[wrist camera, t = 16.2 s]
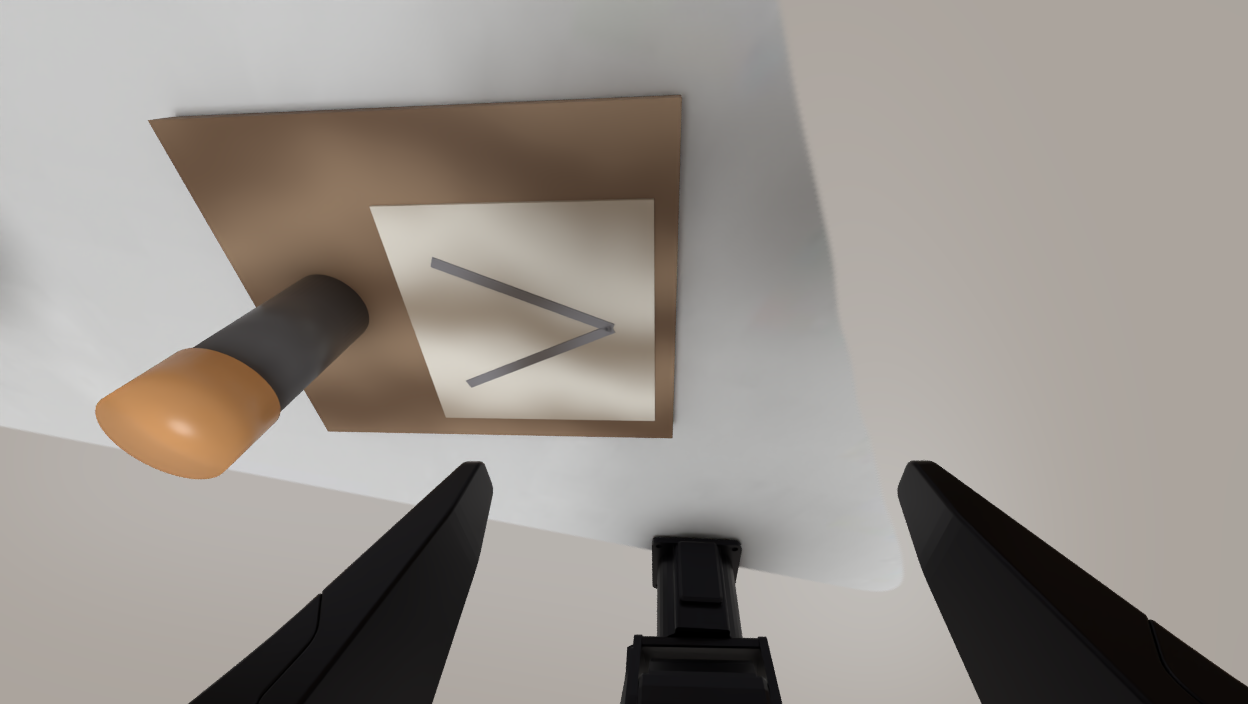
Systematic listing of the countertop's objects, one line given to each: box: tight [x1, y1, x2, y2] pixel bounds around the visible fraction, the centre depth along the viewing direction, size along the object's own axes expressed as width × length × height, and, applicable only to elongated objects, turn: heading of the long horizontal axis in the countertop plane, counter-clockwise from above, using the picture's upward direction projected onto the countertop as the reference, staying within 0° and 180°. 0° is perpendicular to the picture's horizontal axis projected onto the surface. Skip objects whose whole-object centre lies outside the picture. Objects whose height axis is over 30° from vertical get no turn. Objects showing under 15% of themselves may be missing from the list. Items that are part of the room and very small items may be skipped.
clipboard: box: [148, 95, 682, 438], centre depth 22 cm, size 17×21×2 cm
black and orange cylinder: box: [95, 274, 369, 479], centre depth 18 cm, size 4×4×9 cm
